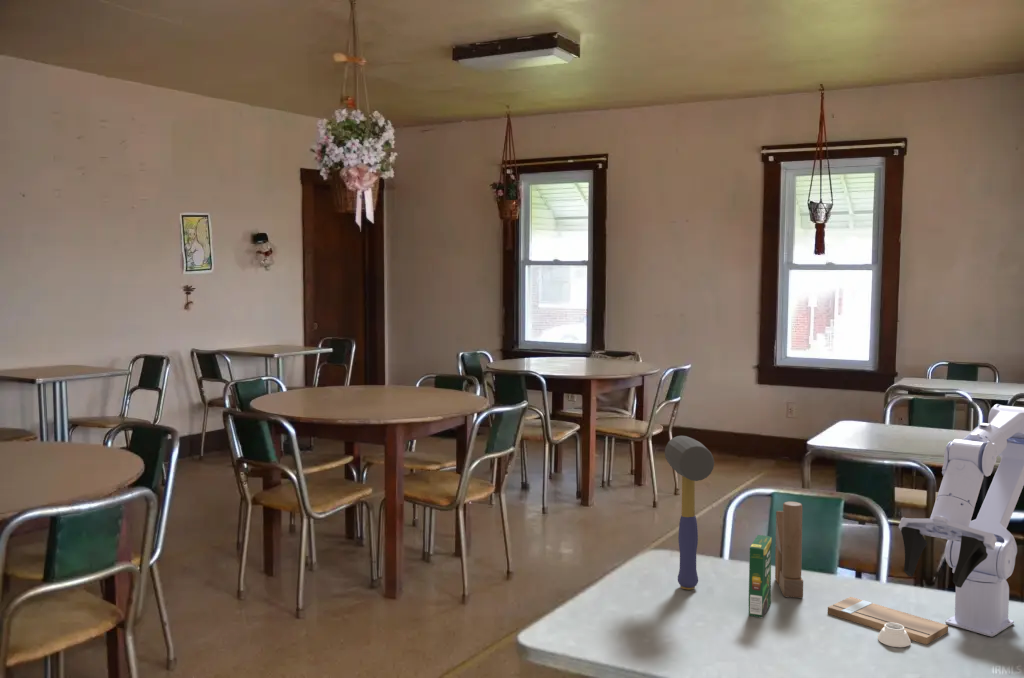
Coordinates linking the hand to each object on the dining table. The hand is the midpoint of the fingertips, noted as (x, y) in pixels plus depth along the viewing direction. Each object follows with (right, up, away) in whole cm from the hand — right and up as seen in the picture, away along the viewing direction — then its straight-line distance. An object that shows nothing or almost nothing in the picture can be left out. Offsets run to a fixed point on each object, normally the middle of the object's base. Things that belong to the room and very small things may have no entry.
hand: (931, 579), depth 138 cm
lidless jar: (-3, -13, +8) cm, 15 cm away
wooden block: (-12, -11, +33) cm, 37 cm away
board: (0, -12, +16) cm, 20 cm away
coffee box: (-21, -12, +22) cm, 33 cm away
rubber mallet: (-32, -11, +34) cm, 48 cm away
